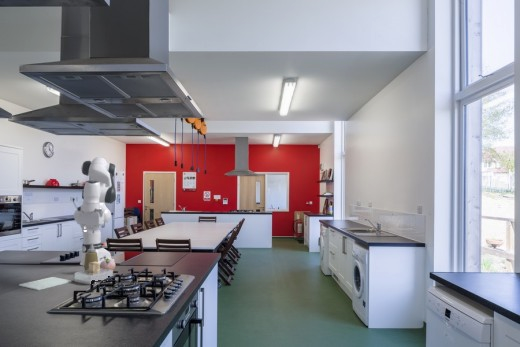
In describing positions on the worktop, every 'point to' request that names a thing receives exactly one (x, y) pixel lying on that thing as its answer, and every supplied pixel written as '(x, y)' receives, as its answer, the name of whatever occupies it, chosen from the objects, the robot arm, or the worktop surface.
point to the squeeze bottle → (90, 256)
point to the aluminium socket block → (92, 275)
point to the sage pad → (45, 283)
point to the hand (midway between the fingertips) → (89, 232)
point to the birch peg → (94, 267)
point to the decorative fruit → (107, 264)
